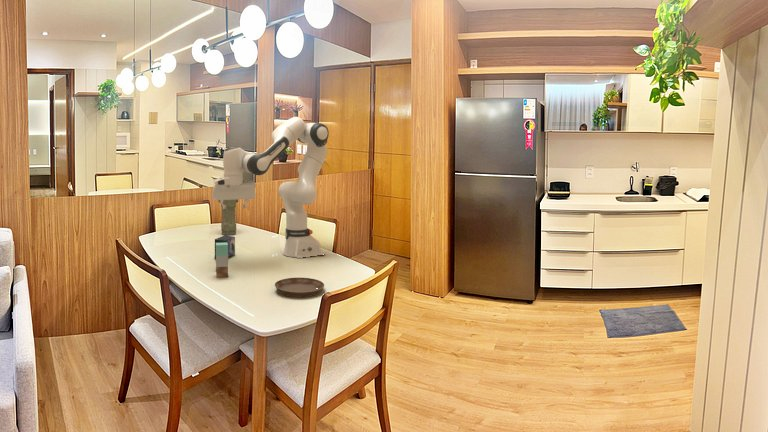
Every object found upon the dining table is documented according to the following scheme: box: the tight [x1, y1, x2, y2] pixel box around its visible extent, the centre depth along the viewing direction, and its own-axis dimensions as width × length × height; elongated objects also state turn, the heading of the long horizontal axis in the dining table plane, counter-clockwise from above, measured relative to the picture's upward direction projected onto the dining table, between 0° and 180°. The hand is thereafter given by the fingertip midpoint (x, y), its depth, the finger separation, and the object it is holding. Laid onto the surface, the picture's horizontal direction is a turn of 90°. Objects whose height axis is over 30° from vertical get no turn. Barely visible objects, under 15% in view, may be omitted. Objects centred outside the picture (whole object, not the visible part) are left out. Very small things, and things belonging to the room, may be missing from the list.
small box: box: [214, 235, 236, 260], centre depth 266 cm, size 11×6×10 cm, turn 169°
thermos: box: [218, 199, 239, 236], centre depth 319 cm, size 9×12×35 cm
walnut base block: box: [215, 266, 229, 279], centre depth 234 cm, size 5×5×5 cm
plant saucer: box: [274, 277, 325, 298], centre depth 218 cm, size 21×21×3 cm
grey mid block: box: [215, 256, 229, 268], centre depth 233 cm, size 5×5×5 cm
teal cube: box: [216, 242, 228, 256], centre depth 232 cm, size 5×5×5 cm
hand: (234, 208), depth 252 cm, fingers open, 8 cm apart
